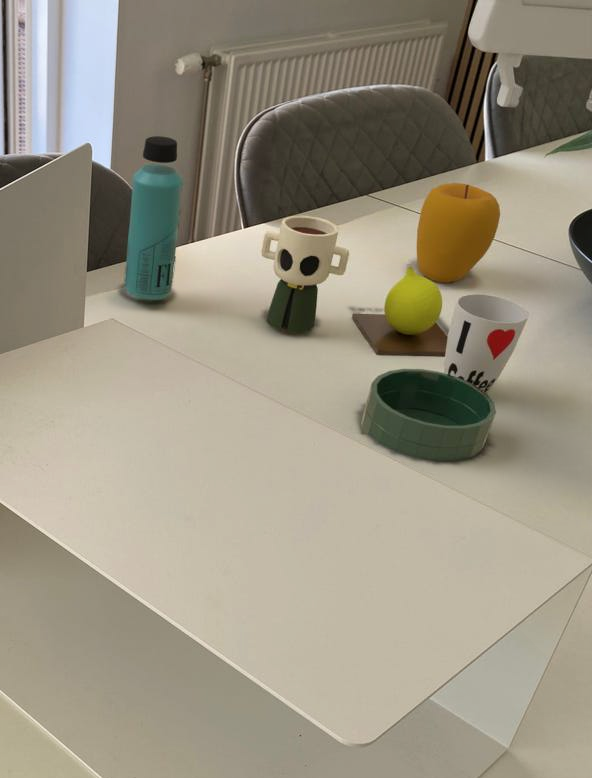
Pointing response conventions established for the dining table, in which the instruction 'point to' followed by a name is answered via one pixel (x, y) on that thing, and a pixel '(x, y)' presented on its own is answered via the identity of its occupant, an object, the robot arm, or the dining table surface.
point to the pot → (428, 414)
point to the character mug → (301, 269)
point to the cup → (482, 338)
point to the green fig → (413, 304)
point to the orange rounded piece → (455, 230)
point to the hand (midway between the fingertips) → (551, 108)
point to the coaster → (400, 337)
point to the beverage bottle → (154, 222)
